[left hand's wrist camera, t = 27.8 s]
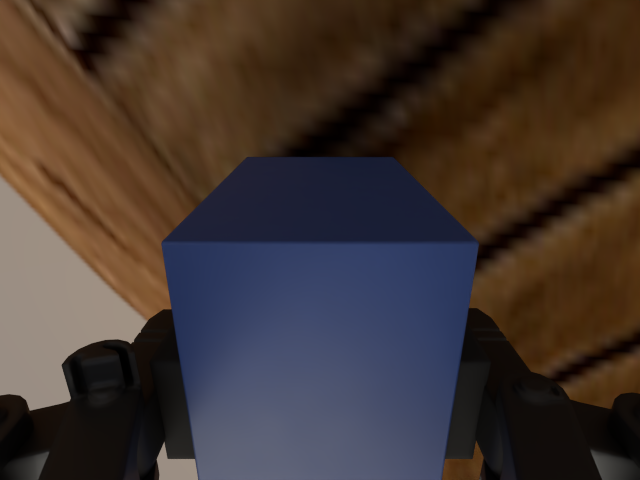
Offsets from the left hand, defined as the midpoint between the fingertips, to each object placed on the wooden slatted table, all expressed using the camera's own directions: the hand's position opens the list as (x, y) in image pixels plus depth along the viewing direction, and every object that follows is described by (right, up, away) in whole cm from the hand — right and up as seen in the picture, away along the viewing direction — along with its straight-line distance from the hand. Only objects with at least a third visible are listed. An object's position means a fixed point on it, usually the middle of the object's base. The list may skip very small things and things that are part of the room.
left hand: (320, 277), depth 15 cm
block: (0, +1, +2) cm, 2 cm away
